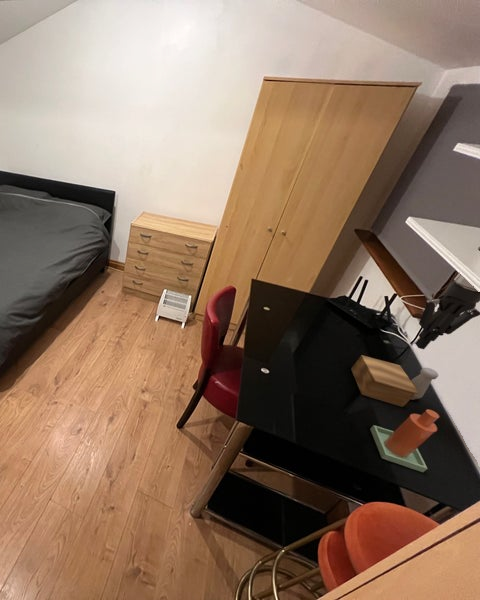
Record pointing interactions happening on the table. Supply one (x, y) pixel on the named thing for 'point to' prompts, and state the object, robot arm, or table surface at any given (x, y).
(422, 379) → the salt shaker
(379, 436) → the tray
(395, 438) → the bottle
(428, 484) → the table surface
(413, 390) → the lid
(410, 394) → the chest
